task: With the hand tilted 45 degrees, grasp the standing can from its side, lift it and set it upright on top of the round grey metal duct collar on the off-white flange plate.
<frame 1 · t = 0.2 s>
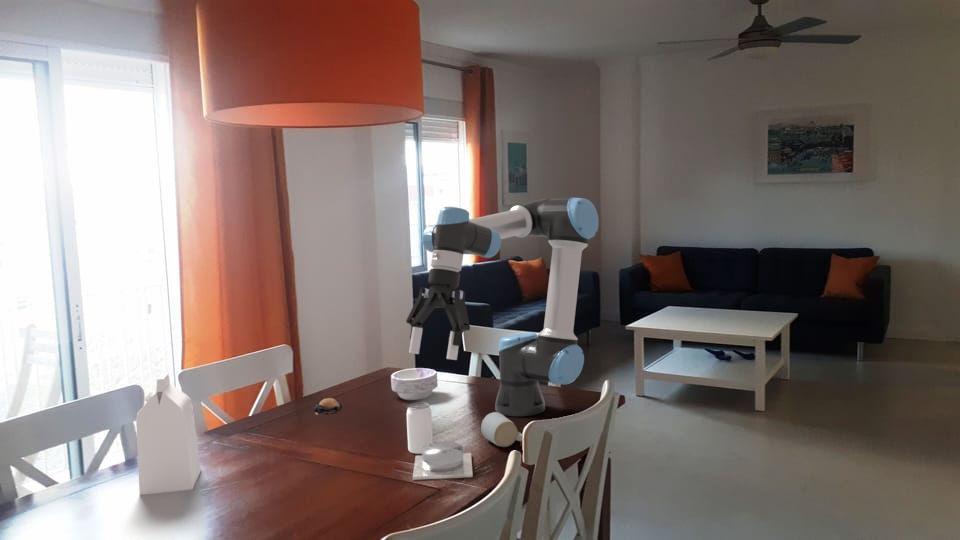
hand: (432, 356, 179), 27 cm above the table, tool tilted 15°, fingers open, 13 cm apart
ceramic mug: (504, 443, 197), on the table
can: (420, 451, 194), on the table
milk: (171, 483, 178), on the table
toy turtle: (327, 411, 234), on the table
duct collar: (443, 467, 181), on the table
white bowl: (415, 397, 245), on the table
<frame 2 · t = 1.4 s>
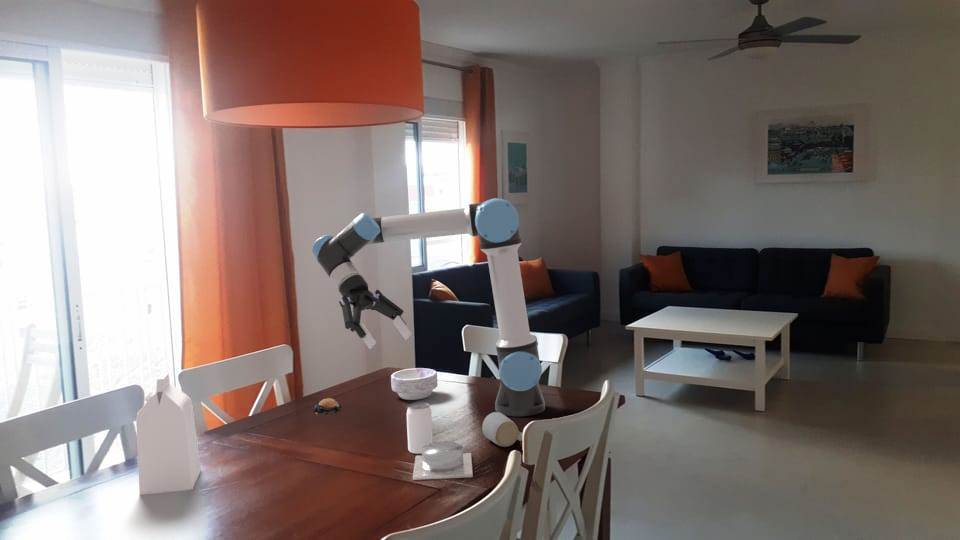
hand: (391, 341, 198), 28 cm above the table, tool tilted 45°, fingers open, 13 cm apart
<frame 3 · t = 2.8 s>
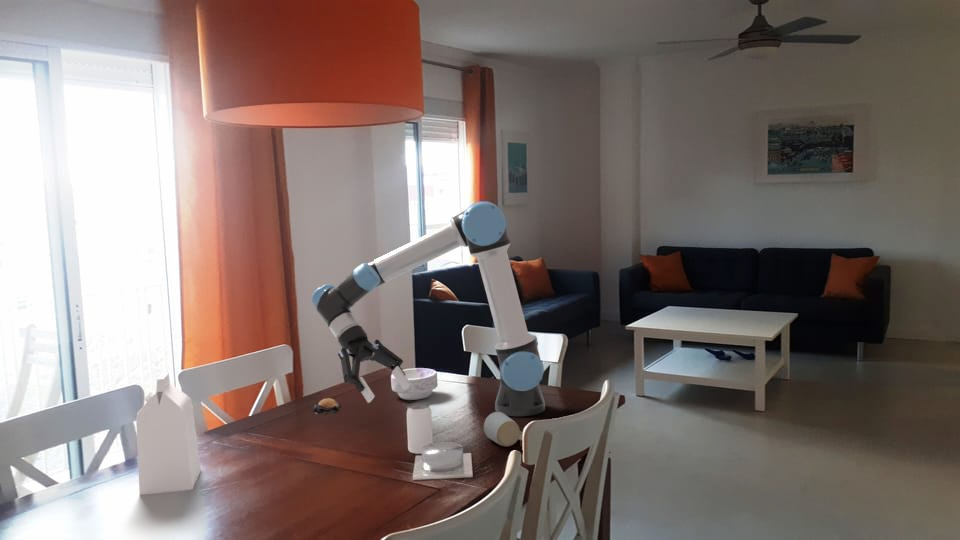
hand: (390, 393, 198), 14 cm above the table, tool tilted 45°, fingers open, 13 cm apart
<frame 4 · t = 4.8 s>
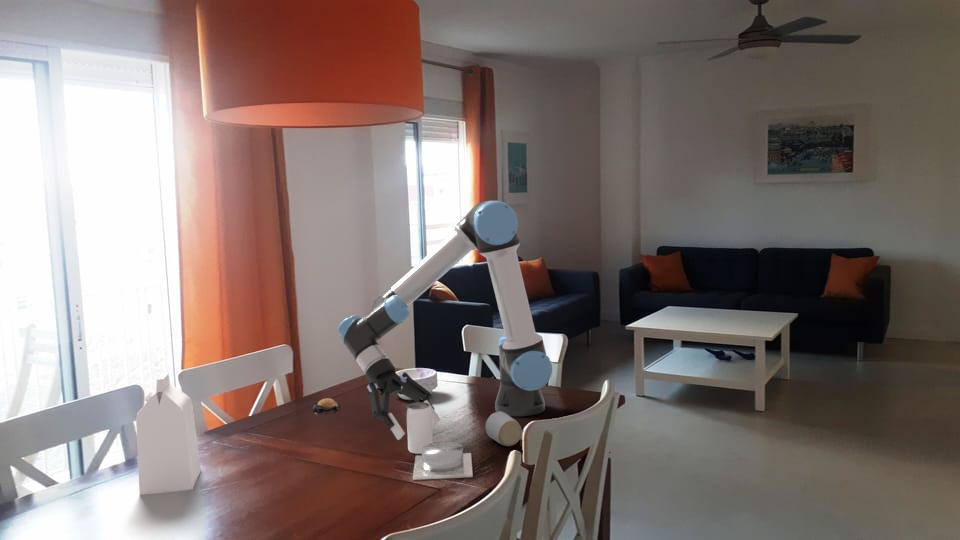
hand: (419, 429, 192), 6 cm above the table, tool tilted 45°, fingers open, 13 cm apart
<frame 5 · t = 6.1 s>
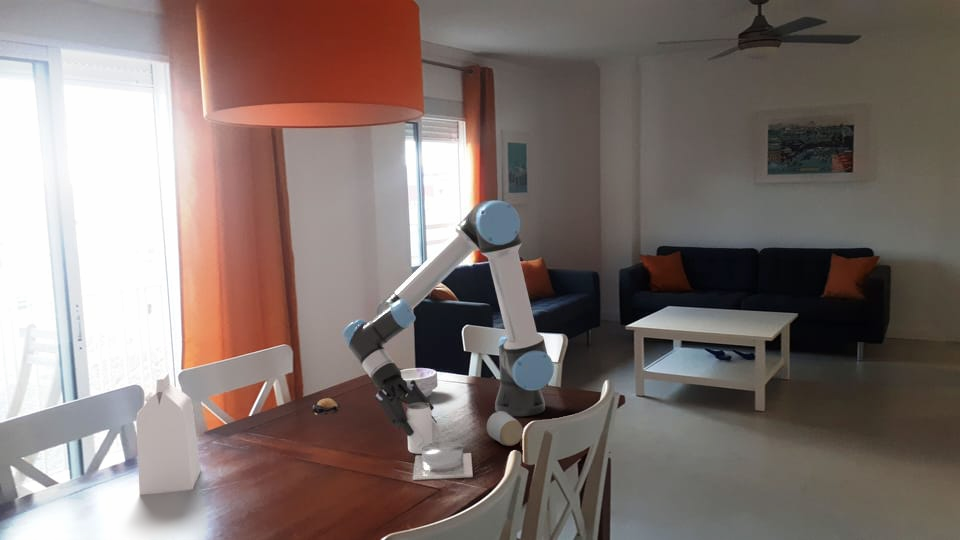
hand: (430, 439, 191), 3 cm above the table, tool tilted 45°, fingers closed on can, 6 cm apart
can: (420, 451, 194), on the table, touching gripper
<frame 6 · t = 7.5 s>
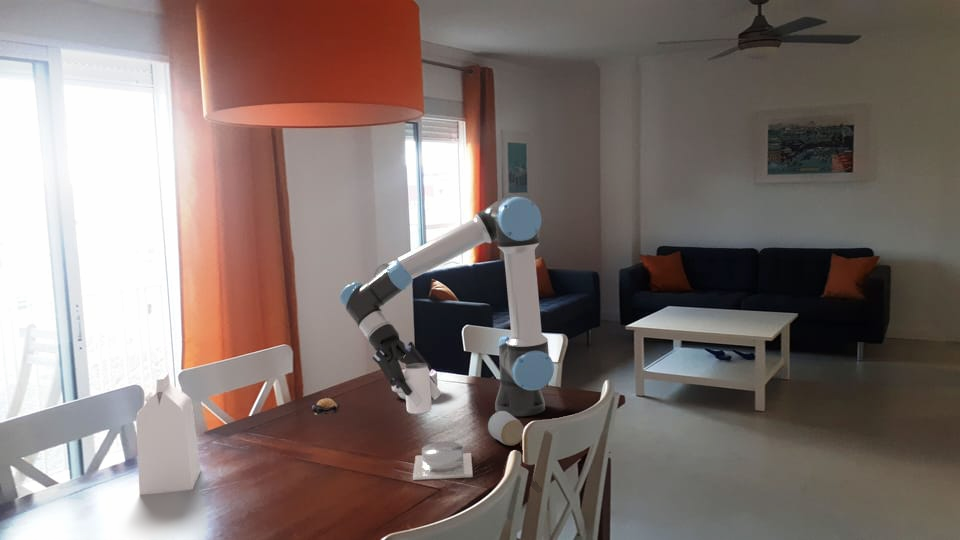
hand: (428, 399, 190), 14 cm above the table, tool tilted 45°, fingers closed on can, 6 cm apart
can: (419, 411, 193), point 10 cm above the table, touching gripper
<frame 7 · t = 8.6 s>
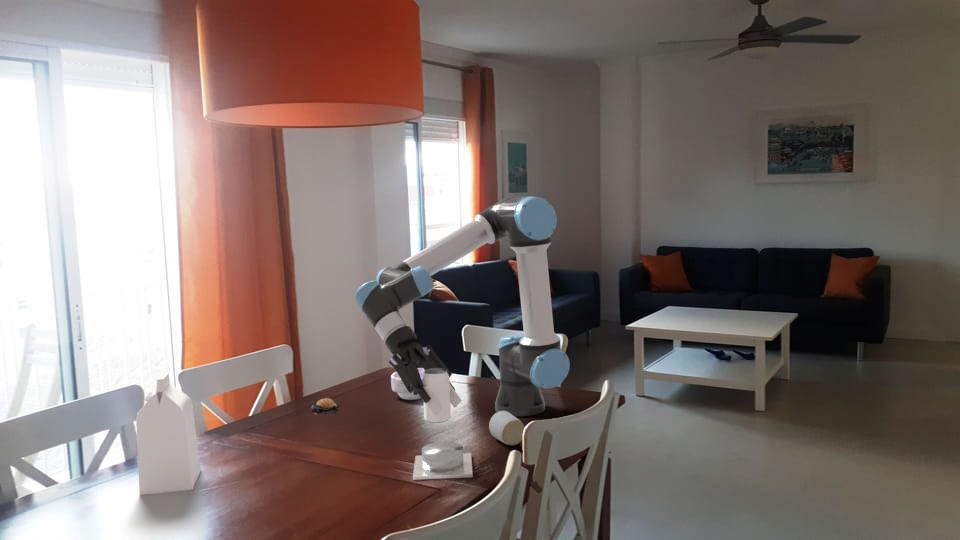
hand: (448, 407, 178), 15 cm above the table, tool tilted 45°, fingers closed on can, 6 cm apart
can: (437, 419, 180), point 12 cm above the table, touching gripper
when the fingers open (9 cm above the table, at t = 10.4 s): can drops 1 cm, resting on duct collar.
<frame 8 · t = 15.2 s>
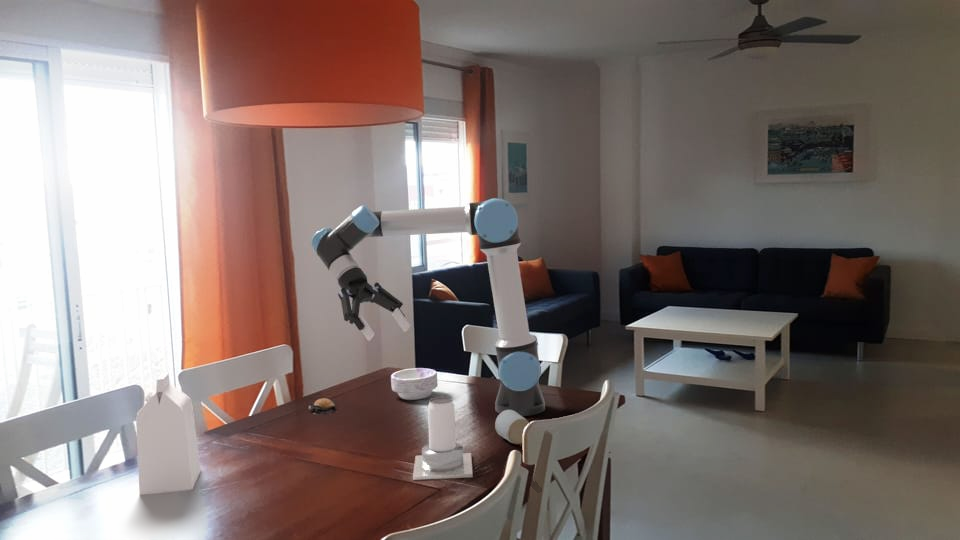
hand: (390, 333, 199), 30 cm above the table, tool tilted 45°, fingers open, 13 cm apart
ceramic mug: (518, 440, 199), on the table
can: (442, 448, 181), point 5 cm above the table, touching duct collar
at the end: can 0.3 cm from the duct collar (horizontally); can touching duct collar; can tilted 0° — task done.
